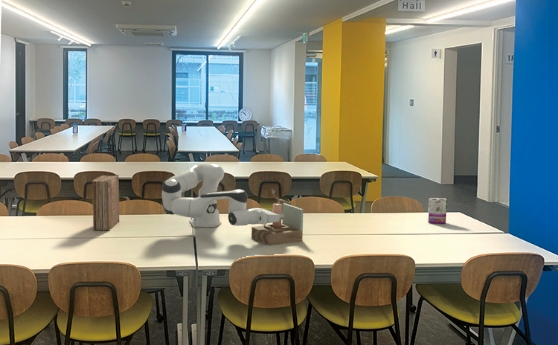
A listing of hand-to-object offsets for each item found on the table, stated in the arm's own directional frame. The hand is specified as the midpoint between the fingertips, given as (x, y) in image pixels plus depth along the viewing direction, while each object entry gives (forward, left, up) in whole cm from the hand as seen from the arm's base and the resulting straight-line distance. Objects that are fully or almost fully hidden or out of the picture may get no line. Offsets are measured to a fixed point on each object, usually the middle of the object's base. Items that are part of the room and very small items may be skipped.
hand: (278, 213), depth 312 cm
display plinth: (0, -1, -14) cm, 15 cm away
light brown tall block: (0, -1, -8) cm, 9 cm away
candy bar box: (+11, +115, -15) cm, 117 cm away
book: (-72, -79, -15) cm, 108 cm away
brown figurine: (-20, +13, -15) cm, 28 cm away
